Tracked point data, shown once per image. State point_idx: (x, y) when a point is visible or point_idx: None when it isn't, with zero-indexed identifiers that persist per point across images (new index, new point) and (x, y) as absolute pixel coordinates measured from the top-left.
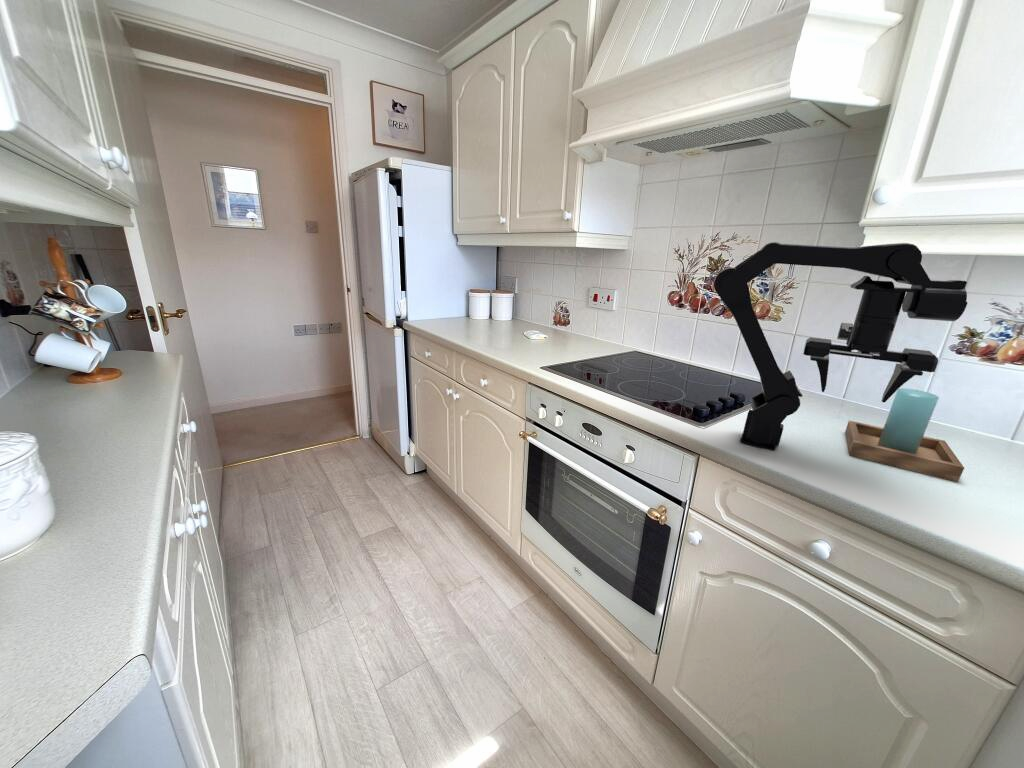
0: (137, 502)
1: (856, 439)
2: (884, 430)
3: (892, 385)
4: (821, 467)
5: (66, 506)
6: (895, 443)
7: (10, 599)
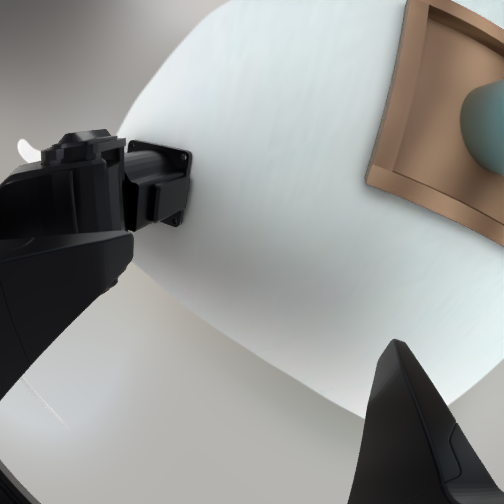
0: None
1: (386, 154)
2: (482, 117)
3: (355, 487)
4: (266, 272)
5: None
6: (488, 164)
7: (36, 398)
